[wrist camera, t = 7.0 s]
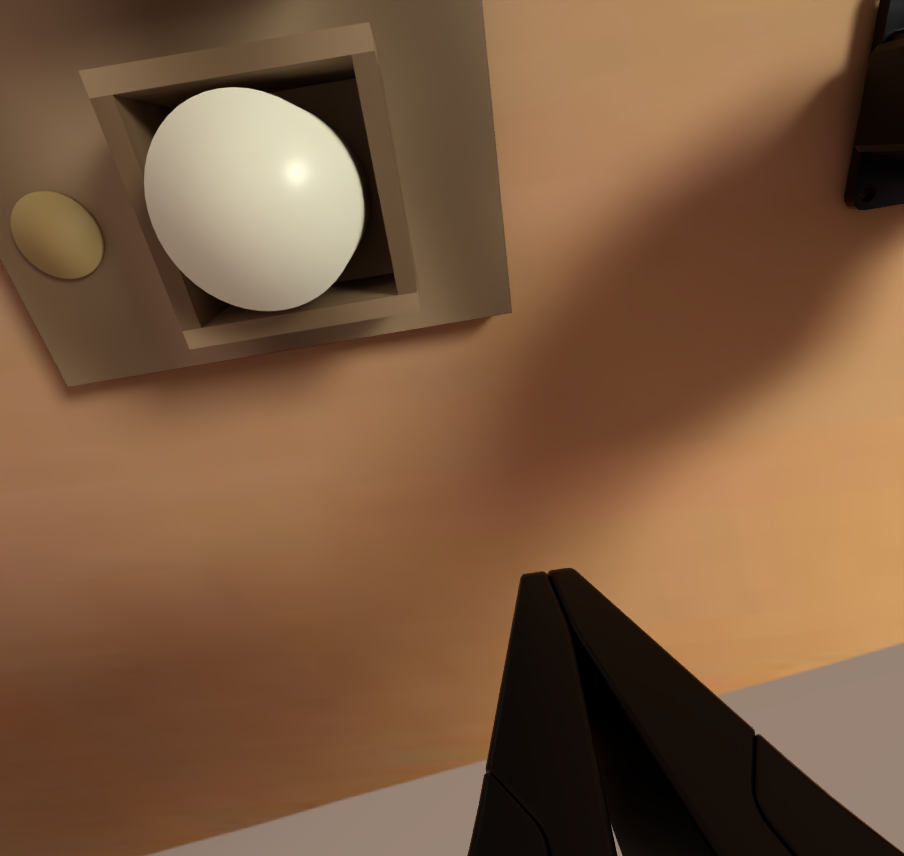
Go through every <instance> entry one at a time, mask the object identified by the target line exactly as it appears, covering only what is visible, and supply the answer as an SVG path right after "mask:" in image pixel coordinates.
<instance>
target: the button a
mask: <svg viewBox="0 0 904 856" xmlns="http://www.w3.org/2000/svg"><path fill="white" fill-rule="evenodd" d="M144 190H145V199H146V204H147V209H148V213H149V216H150V220H151V223H152V226H153V228H154V230H155V232H156V235H157V237H158V239H159V241H160V243H161V244H162V246H163V248H164V249H165V251H166V253H167V254H168V255H169V257H170V258H171V259H172V261H173V262H174V263H175V265H176V266H177V267H178V268H179V269H180V270H181V271H182V272H183V273H184V274H185V276H187V277H188V278H189V279H190V280H191V281H192V282H193V283H195V284H196V285H197V286H198V287H200V288H201V289H203V290H204V291H206V292H207V293H209V294H210V295H212V296H214V297H216V298H218V299H220V300H222V301H224V302H227V303H229V304H232V305H234V306H238V307H241V308H245V309H251V310H257V311H278V310H286V309H290V308H294V307H298V306H300V305H303V304H305V303H308V302H310V301H311V300H313V299H315V298H317V297H318V296H320V295H321V294H322V293H324V292H325V291H326V290H327V289H328V288H329V287H330V286H331V285H332V284H333V283H334V282H335V281H336V280H337V279H338V277H339V276H340V275H341V273H342V272H343V270H344V269H345V267H346V265H347V264H348V262H349V260H350V259H351V257H352V255H353V254H354V252H355V250H356V249H357V247H358V245H359V244H360V242H361V240H362V238H363V236H364V233H365V230H366V228H367V223H368V219H369V211H370V195H369V188H368V183H367V179H366V175H365V172H364V170H363V167H362V164H361V162H360V160H359V158H358V157H357V155H356V153H355V151H354V150H353V148H352V147H351V146H350V144H349V143H348V142H347V140H346V139H345V138H344V137H343V136H342V135H341V134H340V133H339V132H338V131H337V130H336V129H335V128H334V127H332V126H331V125H330V124H328V123H327V122H325V121H324V120H323V119H321V118H319V117H317V116H315V115H313V114H311V113H309V112H307V111H305V110H303V109H301V108H299V107H297V106H295V105H293V104H291V103H289V102H287V101H285V100H283V99H281V98H279V97H277V96H274V95H271V94H269V93H266V92H263V91H259V90H254V89H249V88H237V87H229V88H218V89H214V90H210V91H206V92H203V93H200V94H198V95H196V96H193V97H191V98H189V99H188V100H186V101H185V102H183V103H182V104H180V105H179V106H177V107H176V108H175V109H174V110H173V111H172V112H171V113H170V114H169V115H168V116H167V117H166V119H165V120H164V121H163V122H162V124H161V125H160V126H159V128H158V130H157V132H156V134H155V135H154V137H153V139H152V142H151V145H150V148H149V150H148V154H147V159H146V164H145V172H144Z"/></svg>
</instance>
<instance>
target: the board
mask: <svg viewBox="0 0 904 856" xmlns="http://www.w3.org/2000/svg"><path fill="white" fill-rule="evenodd" d="M229 87H237V88H249V89H254V90H259V91H263V92H266V93H269V94H271V95H274V96H277V97H279V98H281V99H283V100H285V101H287V102H289V103H291V104H293V105H295V106H297V107H299V108H301V109H303V110H305V111H307V112H309V113H311V114H313V115H315V116H317V117H319V118H321V119H323V120H324V121H325V122H327V123H328V124H330V125H331V126H332V127H334V128H335V129H336V130H337V131H338V132H339V133H340V134H341V135H342V136H343V137H344V138H345V139H346V140H347V142H348V143H349V144H350V146H351V147H352V148H353V150H354V151H355V153H356V155H357V157H358V158H359V160H360V162H361V164H362V167H363V170H364V172H365V175H366V179H367V183H368V188H369V195H370V211H369V219H368V223H367V228H366V230H365V233H364V236H363V238H362V240H361V242H360V244H359V245H358V247H357V249H356V250H355V252H354V254H353V255H352V257H351V259H350V260H349V262H348V264H347V265H346V267H345V269H344V270H343V272H342V273H341V275H340V276H339V277H338V279H337V280H336V281H335V282H334V283H333V284H332V285H331V286H330V287H329V288H328V289H327V290H326V291H325V292H324V293H322V294H321V295H320V296H318V297H317V298H315V299H313V300H311V301H310V302H308V303H305V304H303V305H300V306H298V307H294V308H290V309H286V310H278V311H257V310H251V309H245V308H241V307H238V306H234V305H232V304H229V303H227V302H224V301H222V300H220V299H218V298H216V297H214V296H212V295H210V294H209V293H207V292H206V291H204V290H203V289H201V288H200V287H198V286H197V285H196V284H195V283H193V282H192V281H191V280H190V279H189V278H188V277H187V276H185V274H184V273H183V272H182V271H181V270H180V269H179V268H178V267H177V266H176V265H175V263H174V262H173V261H172V259H171V258H170V257H169V255H168V254H167V253H166V251H165V249H164V248H163V246H162V244H161V243H160V241H159V239H158V237H157V235H156V232H155V230H154V228H153V226H152V223H151V220H150V216H149V213H148V209H147V204H146V199H145V190H144V172H145V164H146V159H147V154H148V150H149V148H150V145H151V142H152V139H153V137H154V135H155V134H156V132H157V130H158V128H159V126H160V125H161V124H162V122H163V121H164V120H165V119H166V117H167V116H168V115H169V114H170V113H171V112H172V111H173V110H174V109H175V108H176V107H177V106H179V105H180V104H182V103H183V102H185V101H186V100H188V99H189V98H191V97H193V96H196V95H198V94H200V93H203V92H206V91H210V90H214V89H218V88H229ZM0 260H1V262H2V263H3V265H4V267H5V269H6V271H7V273H8V275H9V277H10V278H11V280H12V282H13V284H14V286H15V288H16V290H17V292H18V294H19V295H20V297H21V299H22V301H23V303H24V305H25V307H26V309H27V311H28V312H29V314H30V316H31V318H32V320H33V322H34V324H35V326H36V328H37V329H38V331H39V333H40V335H41V337H42V339H43V341H44V343H45V345H46V346H47V348H48V350H49V352H50V354H51V356H52V358H53V360H54V362H55V363H56V365H57V367H58V369H59V371H60V373H61V375H62V377H63V378H64V380H65V382H66V384H67V386H68V387H70V386H76V385H82V384H88V383H94V382H100V381H106V380H112V379H118V378H124V377H130V376H136V375H142V374H148V373H154V372H160V371H166V370H172V369H178V368H184V367H190V366H196V365H202V364H208V363H214V362H220V361H226V360H232V359H238V358H244V357H250V356H256V355H262V354H268V353H274V352H280V351H286V350H292V349H298V348H304V347H310V346H316V345H322V344H328V343H334V342H340V341H346V340H352V339H358V338H364V337H370V336H376V335H382V334H388V333H394V332H400V331H406V330H412V329H418V328H424V327H430V326H436V325H442V324H448V323H454V322H460V321H466V320H472V319H478V318H484V317H490V316H496V315H502V314H508V313H512V309H511V298H510V288H509V277H508V267H507V257H506V246H505V236H504V225H503V215H502V205H501V194H500V184H499V173H498V163H497V153H496V142H495V132H494V122H493V111H492V101H491V90H490V80H489V70H488V59H487V49H486V38H485V28H484V18H483V7H482V0H0Z"/></svg>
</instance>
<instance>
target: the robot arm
mask: <svg viewBox="0 0 904 856" xmlns="http://www.w3.org/2000/svg"><path fill="white" fill-rule="evenodd" d="M865 187H866V190H867V192H866V195H865V197H864V198H863V199H862V200H861V196H860V195H861V193H862V191H863V190H864V189H865ZM844 202H845V204H846V206H847V207H849V208H850V209H857V210H868V209H874V208H880V207H886V206H892V205H898V204H904V0H880V3H879V9H878V14H877V20H876V25H875V31H874V36H873V42H872V47H871V53H870V58H869V63H868V69H867V74H866V80H865V85H864V91H863V96H862V102H861V107H860V113H859V118H858V124H857V129H856V135H855V140H854V146H853V151H852V157H851V162H850V167H849V173H848V178H847V184H846V189H845V195H844ZM611 825H612V827H611ZM612 828H613V831H614V833H615V836H616V839H617V842H618V844H619V847H620V850H621V853H622V855H623V856H904V853H903V852H902V851H900V850H899V849H898V848H896V847H895V846H894V845H893V844H891V843H890V842H889V841H887V840H886V839H885V838H883V837H882V836H881V835H880V834H878V833H877V832H876V831H875V830H873V829H872V828H871V827H869V826H868V825H867V824H866V823H865V822H863V821H862V820H860V819H859V818H858V817H857V816H856V815H854V814H853V813H852V812H851V811H849V810H848V809H847V808H846V807H844V806H843V805H842V804H841V803H839V802H838V801H837V800H835V799H834V798H833V797H832V796H830V795H829V794H828V793H827V792H826V791H825V790H823V789H822V788H821V787H820V786H819V785H818V784H816V783H815V782H814V781H813V780H812V779H811V778H809V777H808V776H807V775H806V774H805V773H804V772H802V771H801V770H800V769H799V768H798V767H796V766H795V765H794V764H793V763H792V762H791V761H790V760H788V759H787V758H786V757H785V756H784V755H782V753H780V752H779V751H778V750H777V749H776V748H775V747H774V746H773V745H771V744H770V743H769V742H768V741H767V740H766V739H765V738H764V737H763V736H761V735H759V734H757V735H755V731H754V729H753V728H752V727H751V726H750V725H749V724H748V723H746V722H745V721H744V720H743V719H742V718H741V717H740V716H739V715H738V714H736V713H735V712H734V711H733V710H732V709H731V708H730V707H728V706H727V705H726V704H725V703H724V702H723V701H722V700H721V699H720V698H718V697H717V696H716V695H715V694H714V693H713V692H712V691H711V690H709V689H708V688H707V687H706V686H705V685H704V684H703V683H702V682H700V681H699V680H698V679H697V678H696V677H695V676H694V675H693V674H691V673H690V672H689V671H688V670H687V669H686V668H685V667H684V666H682V665H681V664H680V663H679V662H678V661H677V660H676V659H675V658H674V657H672V656H671V655H670V654H669V653H668V652H667V651H666V650H665V649H663V648H662V647H661V646H660V645H659V644H658V643H657V642H656V641H654V640H653V639H652V638H651V637H650V636H649V635H648V634H647V633H645V632H644V631H643V630H642V629H641V628H640V627H639V626H638V625H636V624H635V623H634V622H633V621H632V620H631V619H630V618H629V617H627V616H626V615H625V614H624V613H623V612H622V611H621V610H620V609H618V608H617V607H616V606H615V605H614V604H613V603H612V602H611V601H610V600H608V599H607V598H606V597H605V596H604V595H603V594H602V593H601V592H599V591H598V590H597V589H596V588H595V587H594V586H593V585H592V584H590V583H589V582H588V581H587V580H586V579H585V578H584V577H583V576H581V575H580V574H579V573H578V572H577V571H576V570H574V569H572V568H564V569H557V570H551V571H549V572H548V574H546V573H545V572H535V573H527V574H523V575H522V576H521V578H520V584H519V589H518V595H517V600H516V606H515V611H514V617H513V622H512V628H511V633H510V638H509V644H508V649H507V655H506V660H505V666H504V671H503V677H502V682H501V688H500V693H499V699H498V704H497V710H496V715H495V721H494V726H493V731H492V737H491V742H490V748H489V753H488V759H487V764H486V774H485V775H484V779H483V784H482V790H481V795H480V801H479V806H478V810H477V816H476V820H475V824H474V829H473V834H472V838H471V843H470V847H469V852H468V855H467V856H617V851H616V847H615V842H614V837H613V832H612Z"/></svg>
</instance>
